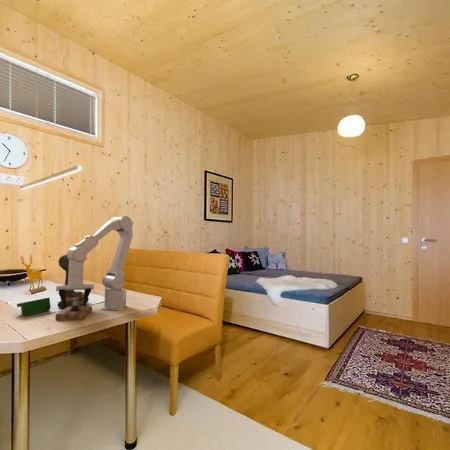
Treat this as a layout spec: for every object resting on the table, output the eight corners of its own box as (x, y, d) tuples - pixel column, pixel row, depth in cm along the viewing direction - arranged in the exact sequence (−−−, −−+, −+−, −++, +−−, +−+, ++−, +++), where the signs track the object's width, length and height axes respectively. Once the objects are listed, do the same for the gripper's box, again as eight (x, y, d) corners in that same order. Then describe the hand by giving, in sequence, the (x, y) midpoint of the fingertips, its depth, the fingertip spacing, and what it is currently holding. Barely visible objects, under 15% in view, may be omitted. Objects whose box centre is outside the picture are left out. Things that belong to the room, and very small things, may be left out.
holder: (91, 311, 133) (92, 306, 133) (80, 320, 121) (81, 314, 121) (68, 311, 132) (69, 306, 132) (55, 320, 120) (55, 314, 120)
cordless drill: (96, 299, 154) (97, 252, 154) (72, 310, 134) (74, 255, 134) (80, 298, 155) (81, 251, 155) (54, 309, 135) (56, 254, 135)
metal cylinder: (77, 316, 125) (78, 299, 126) (70, 316, 125) (70, 299, 125) (78, 314, 128) (79, 297, 128) (71, 315, 127) (72, 297, 127)
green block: (39, 319, 133) (45, 299, 137) (47, 318, 131) (53, 298, 135) (11, 315, 124) (18, 293, 128) (19, 314, 121) (26, 292, 125)
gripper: (94, 273, 133) (93, 303, 133) (58, 274, 127) (57, 305, 127) (94, 275, 126) (92, 307, 126) (55, 276, 121) (54, 309, 121)
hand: (74, 306), depth 126 cm, fingers open, 7 cm apart
